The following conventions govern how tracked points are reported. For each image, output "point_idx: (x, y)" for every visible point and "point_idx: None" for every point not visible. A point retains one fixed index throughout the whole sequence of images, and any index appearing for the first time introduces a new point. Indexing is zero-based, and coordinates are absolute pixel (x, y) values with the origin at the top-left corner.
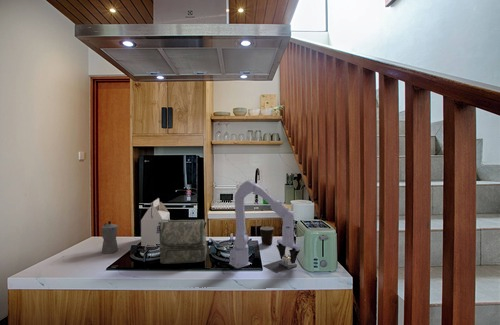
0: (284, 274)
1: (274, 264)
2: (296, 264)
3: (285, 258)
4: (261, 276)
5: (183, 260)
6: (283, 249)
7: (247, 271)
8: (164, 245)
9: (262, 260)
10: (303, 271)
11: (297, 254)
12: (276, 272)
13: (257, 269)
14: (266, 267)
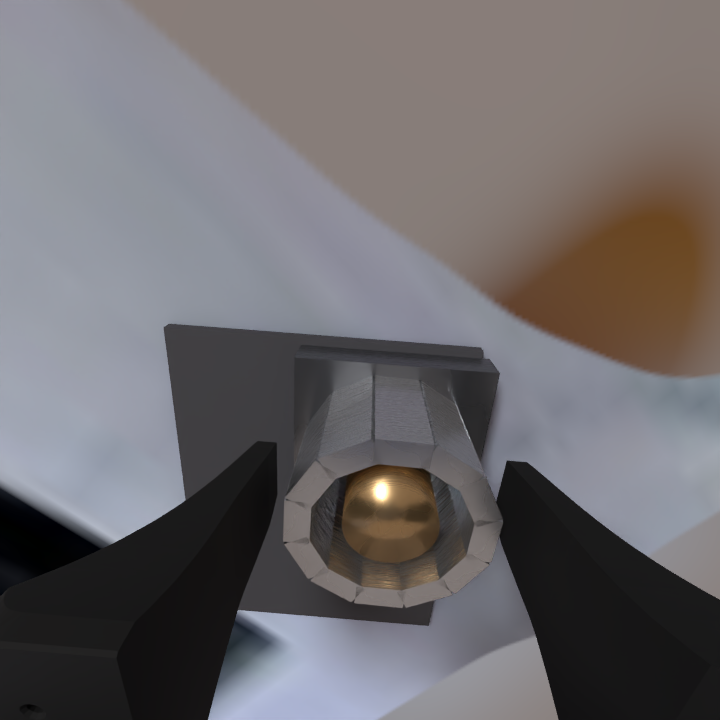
0: (493, 583)
1: None
2: (496, 381)
3: (415, 601)
4: (370, 704)
5: None
6: (211, 602)
7: (221, 711)
8: None
9: (48, 497)
10: (632, 399)
11: (671, 584)
12: (419, 619)
13: (234, 653)
14: (261, 605)
